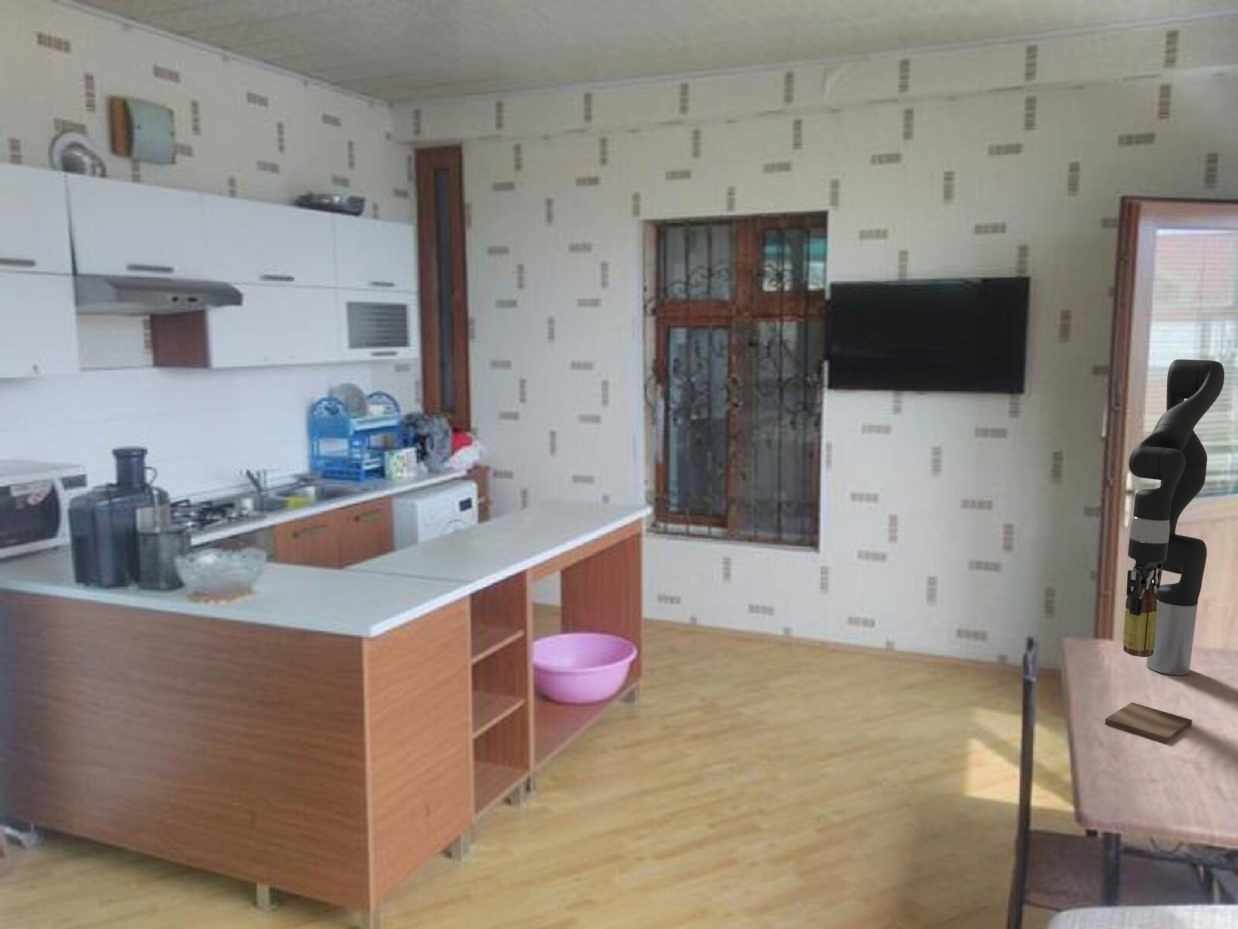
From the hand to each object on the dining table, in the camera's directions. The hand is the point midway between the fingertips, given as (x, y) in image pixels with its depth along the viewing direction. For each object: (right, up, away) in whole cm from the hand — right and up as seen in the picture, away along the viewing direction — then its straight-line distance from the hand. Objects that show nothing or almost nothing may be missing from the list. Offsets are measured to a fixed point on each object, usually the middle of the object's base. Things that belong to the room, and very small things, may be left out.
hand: (1141, 611), depth 216 cm
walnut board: (-4, -22, -11) cm, 25 cm away
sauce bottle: (0, -10, +2) cm, 10 cm away
